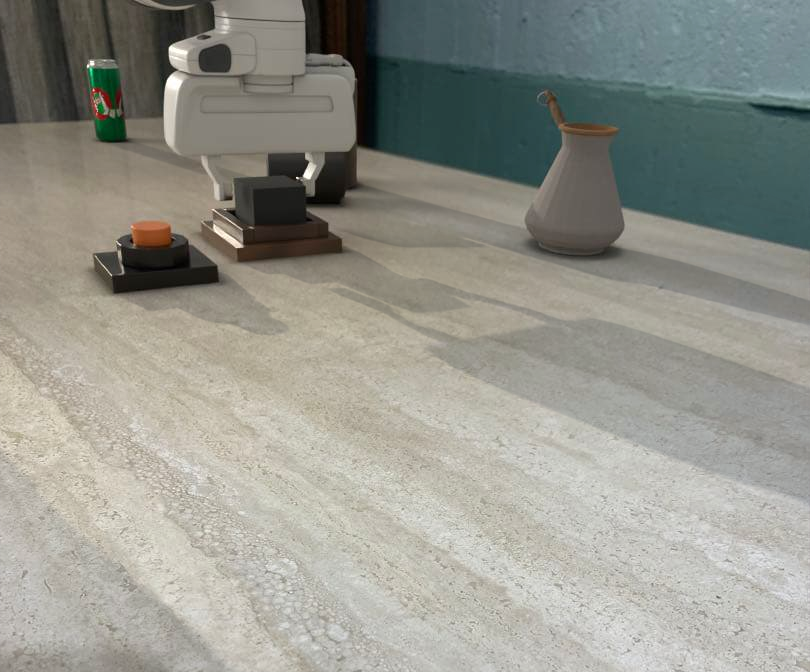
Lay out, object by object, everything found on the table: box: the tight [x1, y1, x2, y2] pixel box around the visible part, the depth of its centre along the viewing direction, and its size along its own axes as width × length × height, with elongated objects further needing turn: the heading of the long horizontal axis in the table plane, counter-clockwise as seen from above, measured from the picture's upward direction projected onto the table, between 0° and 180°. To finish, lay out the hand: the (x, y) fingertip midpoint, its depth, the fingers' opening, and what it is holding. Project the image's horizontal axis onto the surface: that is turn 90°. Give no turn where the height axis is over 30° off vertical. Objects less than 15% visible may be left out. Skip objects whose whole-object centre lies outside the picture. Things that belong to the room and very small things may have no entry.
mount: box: [200, 206, 343, 263], centre depth 96 cm, size 12×12×3 cm
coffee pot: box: [524, 88, 626, 256], centre depth 101 cm, size 21×12×15 cm, turn 10°
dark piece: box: [92, 232, 220, 294], centre depth 84 cm, size 10×8×4 cm
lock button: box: [130, 220, 172, 246], centre depth 83 cm, size 4×4×2 cm
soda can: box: [86, 58, 128, 143], centre depth 144 cm, size 5×5×12 cm
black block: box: [233, 175, 307, 227], centre depth 95 cm, size 6×6×5 cm
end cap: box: [265, 152, 347, 204], centre depth 113 cm, size 10×7×7 cm
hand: (265, 197), depth 94 cm, fingers open, 8 cm apart
